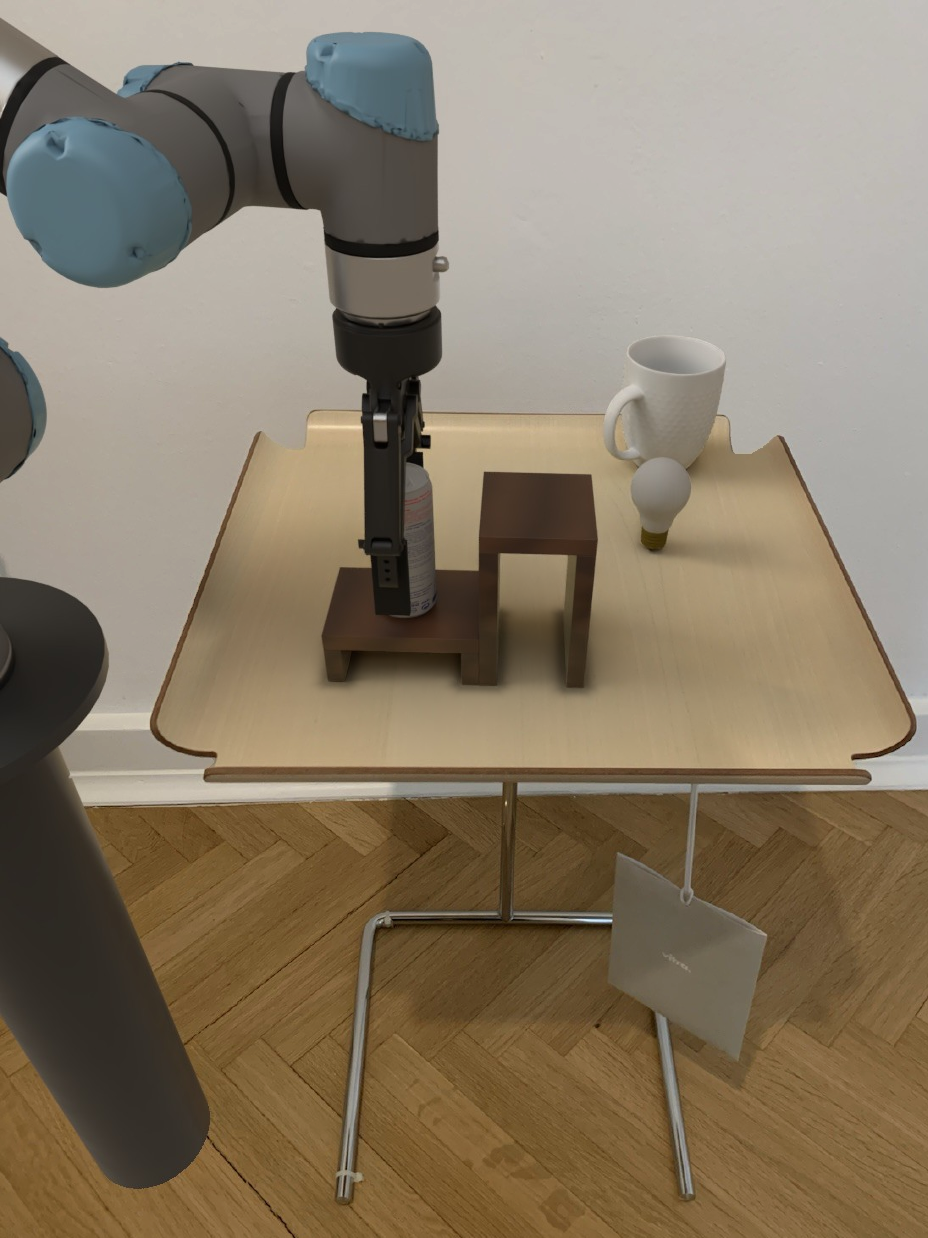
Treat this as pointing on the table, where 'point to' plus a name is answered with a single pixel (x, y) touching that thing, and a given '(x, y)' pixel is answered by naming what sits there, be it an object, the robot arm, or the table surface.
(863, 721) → the table surface
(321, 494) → the table surface
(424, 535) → the energy drink
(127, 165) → the robot arm
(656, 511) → the light bulb
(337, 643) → the shelf
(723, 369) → the mug
